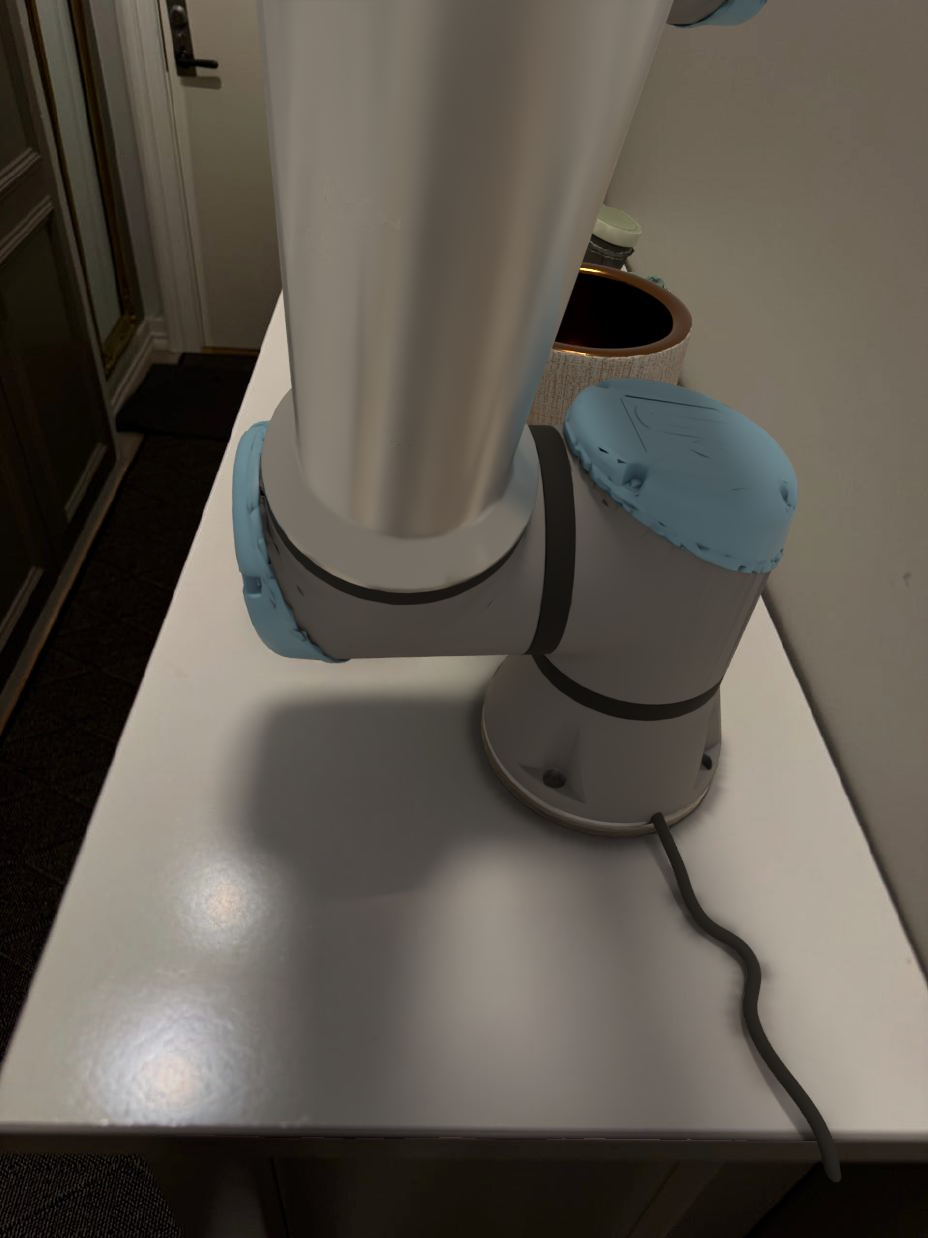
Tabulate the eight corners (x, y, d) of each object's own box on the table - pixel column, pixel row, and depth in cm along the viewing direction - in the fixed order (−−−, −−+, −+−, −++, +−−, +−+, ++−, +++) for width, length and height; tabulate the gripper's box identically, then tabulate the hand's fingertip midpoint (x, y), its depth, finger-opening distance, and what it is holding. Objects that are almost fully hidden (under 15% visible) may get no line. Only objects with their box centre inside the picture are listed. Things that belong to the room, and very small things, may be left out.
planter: (678, 464, 81) (728, 302, 70) (593, 557, 69) (637, 381, 58) (518, 399, 87) (541, 241, 76) (416, 475, 75) (426, 302, 65)
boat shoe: (511, 144, 119) (493, 208, 125) (566, 211, 99) (541, 284, 104) (584, 165, 123) (563, 226, 128) (651, 234, 102) (623, 304, 108)
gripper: (466, 125, 48) (437, 472, 64) (419, 56, 59) (405, 366, 76) (332, 119, 47) (337, 476, 63) (310, 49, 58) (320, 368, 74)
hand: (375, 416), depth 69 cm, fingers closed on walnut stick, 3 cm apart
